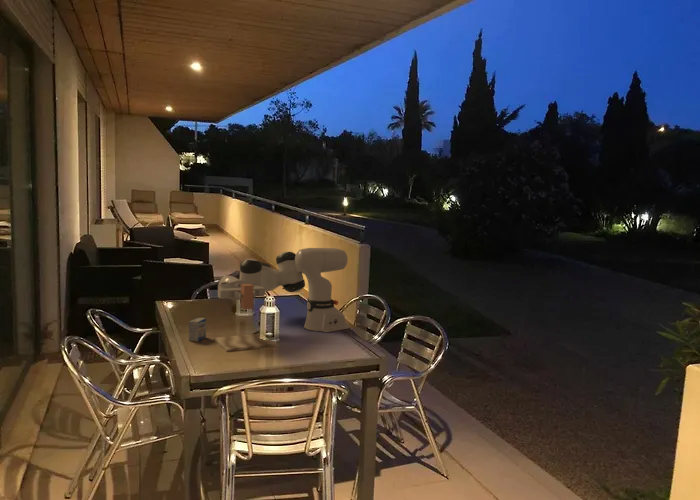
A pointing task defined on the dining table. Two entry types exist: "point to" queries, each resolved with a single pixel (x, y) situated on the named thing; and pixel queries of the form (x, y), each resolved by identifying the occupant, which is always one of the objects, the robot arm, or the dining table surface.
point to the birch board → (243, 342)
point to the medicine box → (197, 329)
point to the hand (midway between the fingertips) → (247, 295)
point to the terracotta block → (247, 296)
